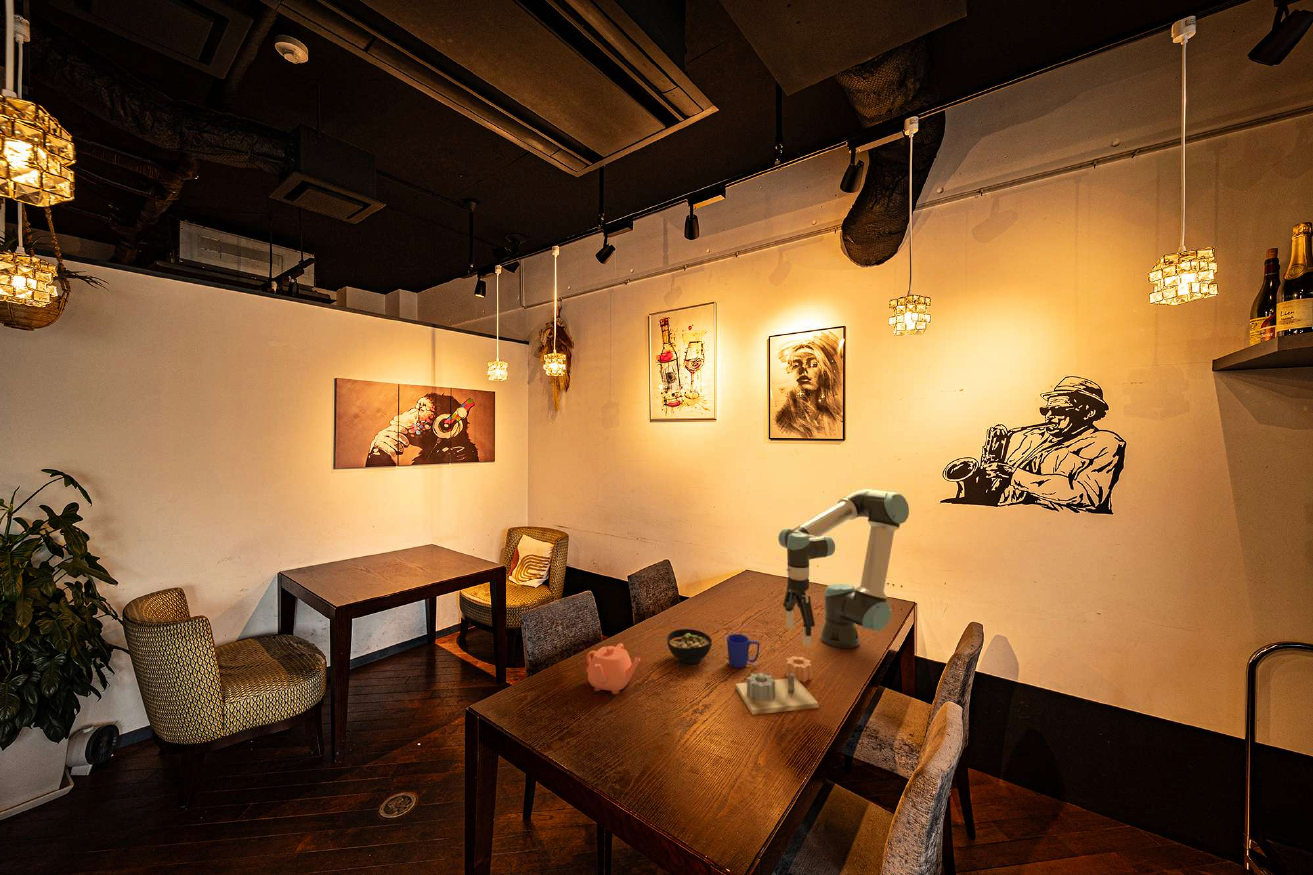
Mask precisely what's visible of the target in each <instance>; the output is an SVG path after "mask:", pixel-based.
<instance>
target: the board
mask: <svg viewBox="0 0 1313 875" xmlns="http://www.w3.org/2000/svg"><path fill="white" fill-rule="evenodd" d="M774 680H775V697H772V701H769V700H767V701H763V702H759V700H756V699H751V698H750V694H747V682H741V683H735V689H736V691H737V693H738V694H739V696H740V698H742V700H743V702H744V703H745V706H747V709H748V710H749V711H750V713H751V714H752V715H753V716H754V715H764V714H772V713H782V712H783V713H784V712H789V711H791V712H793V711H800V710H809V709H818V708H819V701H817V700H816V698H815V697H814V696H813V695H812V694H811V693H810V691H808V689H806V688H805V686H804V685H803V684H802V683H801V681H798V680H797V678H794V674H791V673H790V674H788V677H787V678H782V679H781V678H780V679H774ZM758 682H763V683H764V677H762V676H759V677H758Z"/></svg>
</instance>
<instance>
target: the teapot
mask: <svg viewBox="0 0 1313 875" xmlns="http://www.w3.org/2000/svg"><path fill="white" fill-rule="evenodd" d="M591 655H593V656H592V658H591ZM586 662H587V664H588V666H587V667H586V673H587V681H588V682H589V684H590V685H591V687H594V688H593V690H594V691H595V692H601V691H602V690H603V691H611V694H612V695H618V694H620V690H622V689H623V690H624V688H625V687H626V686H627V685H628V684H629V682H630V680H631V679H632V676H633V674H634V673H635V671H636V668H637V666H638V665H639V663H640V662H641V658H640V657H635V658H634V660H633V662H632V660H631V658H630V654H629V653H628V651H627V650H626V649H625V647H624V644H623V643H621V642H620V643H618V644H617V645H616V646H613V645H609V646H602V647H600V648H599V649H597V651H596V650H591V651H589V652H588V653H587V655H586Z"/></svg>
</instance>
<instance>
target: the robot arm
mask: <svg viewBox="0 0 1313 875" xmlns="http://www.w3.org/2000/svg"><path fill="white" fill-rule="evenodd" d="M909 515H910V507H909V503H908V501H907V498H906V497H904V495H902V494H900V493H897V492H893V491H884V490H875V489H869V488H868V489H861V490H857V491H855V492H852V493H849V494H848V495H846V496H844V497H842V498H841V499H839V500H838V502H837V504H835V505H833V506H832V507H829V508H828V509H827V510H824V511H823V512H821V513H820V514H817V515H816V516H815V517H812V518H811V519H809V520H807V521H806V522H803V523H802V524H800V525H798V526H797V527H795V528H793V529H791V528H783V530H781V531H780V532H779V534H778V543H779V545H780V546H781V547H783V548H784V549H786V550H787V551H786V555H787V558H786V560H787V569H786V571H787V580H786V581H787V585H786V593H785V596H784V600H783V604H782V606H783V608H784V609H785V614H786V615H785V627H786V628H785V629H786V630H792V629H793V630H794V629H795V622H794V621H795V612H794V610H795V608H794V607H795V606H797V608H799V611H800V616H801V618H802V621H803V625H802V645H803V646H808V645H812V628H813V627H815V626H816V623H815V617H814V614H813V608H812V604H811V603H812V601H811V596H809V595H806V591H807V590H809V589H810V579H809V578H810V560H813V559H820V558H821V559H822V558H826V557H830V556H832V555H834V553H835V551H836V544H835V541H834V539H833V538H832V537H831V536H829V535H825V534H827V533H828V532H830V531H832V530H834V529H835V528H837V527H838V526H840V525H841V524H843V523H845V522H846V521H849V520H850V521H853V520H855V519H857V518H868V519H867V522H868V524H869V525H870V530H869V536H868V541H867V547H866V552H865V558H864V564H863V569H862V575H861V581H860V585H859V586H858V587H856V588H855V586H854V585H852V584H847V583H837V584H836V583H835V584H829V585H827V586H826V587H825V589H824V590H825V592H824V619H825V620H824V622H823V625H822V629H821V632H820V639H821V641H822V642H823V643H824V644H826V645H828V646H831V647H835V648H838V649H853V648H856V647H858V646H859V645H860V636H859V633H858V630H857V627H856V625H858V626H861V627H863V628H864V629H866V630H870V631H872V632H879V631H882V630H884V629H885V627H888V624H889V623H890V621H891V619H892V612H893V611H892V609H891V607H892V606H890V604H888V602H887V600H888V596H887V595H886V594H885V588H886V580H887V575H888V570H889V564H890V559H891V558H890V557H891V553H892V548H893V541H894V535H895V532H896V531H897V530H899V529H900V526H901V524H904V523H906V521H907V520H908V518H909Z"/></svg>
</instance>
